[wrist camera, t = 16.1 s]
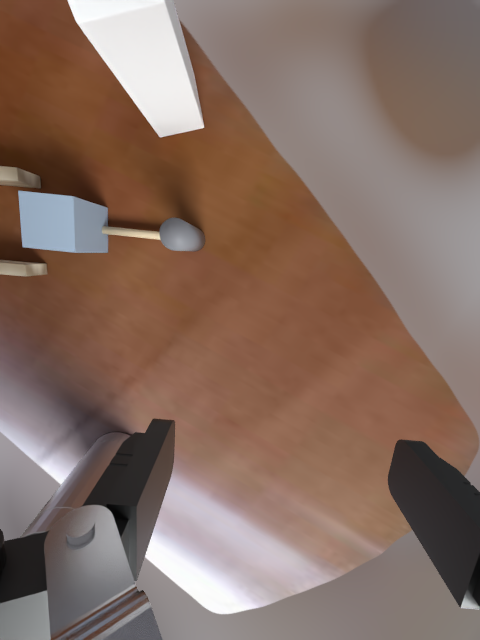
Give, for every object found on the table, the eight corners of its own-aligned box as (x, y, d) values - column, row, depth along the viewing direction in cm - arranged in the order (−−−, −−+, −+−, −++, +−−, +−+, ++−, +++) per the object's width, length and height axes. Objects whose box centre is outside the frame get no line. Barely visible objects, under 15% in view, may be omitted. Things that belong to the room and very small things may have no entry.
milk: (148, 86, 35) (-2, -175, 14) (195, 75, 35) (116, -210, 14) (160, 139, 37) (40, -24, 15) (205, 129, 36) (148, -52, 15)
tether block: (203, 262, 40) (189, 265, 30) (65, 248, 40) (0, 246, 29) (206, 218, 39) (192, 204, 28) (63, 203, 39) (-6, 184, 28)
